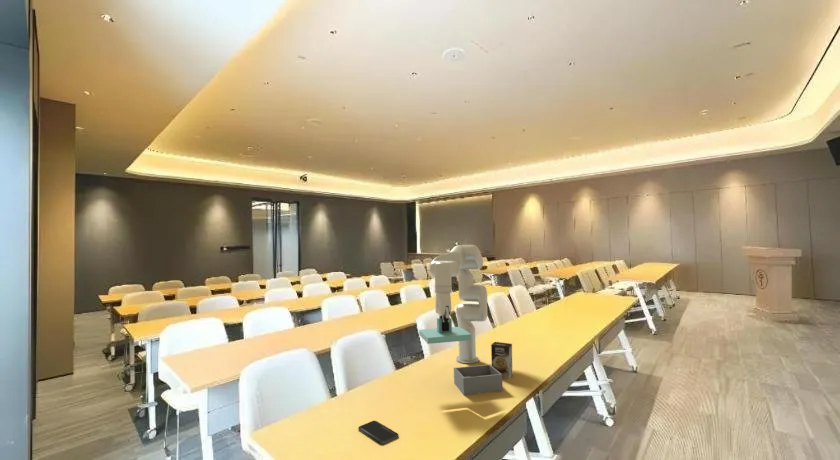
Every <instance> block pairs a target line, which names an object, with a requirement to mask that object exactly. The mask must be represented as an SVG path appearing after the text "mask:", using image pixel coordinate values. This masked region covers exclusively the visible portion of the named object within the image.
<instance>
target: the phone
mask: <svg viewBox="0 0 840 460" xmlns="http://www.w3.org/2000/svg"><path fill="white" fill-rule="evenodd" d="M358 431H359V432H360V433H362V434H364V435H365V436H366V437H368V438H369V439H371V440H372V441H374V442H376V443H377V444H379V445H382V446H383V445H387V444H389V443H390V442H392V441H394V440H396V439H398V438H399V433H397V432H396V431H394V430H393V429H391V428H389V427H387V425H384V424H383V423H380V422H379V421H377V420H372V421H369V422H367V423H364V424H362V425H360V426H358Z"/></svg>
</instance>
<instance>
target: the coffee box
mask: <svg viewBox="0 0 840 460" xmlns="http://www.w3.org/2000/svg"><path fill="white" fill-rule="evenodd" d="M490 346H491V347H490V348H491V353H490V354H491V357H490V358H491V366H492V367H494V368H495V369H496V370H497V371H499V372H500V373H501V374H502V379H503V378H504V379H510V378H512V377H513V343H509V342H508V343H507V342H501V341H500V342H499V341H494V342H492V343H491V345H490Z"/></svg>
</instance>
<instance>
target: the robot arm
mask: <svg viewBox="0 0 840 460" xmlns="http://www.w3.org/2000/svg"><path fill="white" fill-rule="evenodd" d="M483 265H484V258H483V256H482V253H481V251H480V249H479V247H478V246H477V245H476V244H458V245H455V246H453V248H452V249H451V250H450V251H449V252H445V253H444V254H441V255H438V256H435V258H433V260H431V262H430V264H429V273H430V275H432V277H434V293H435V313H436V314H437V315H438V316H439V317H438V318H442V321H443V322H442V331H449V318H451V315H452V301H451V299H452V297H451V293H453V291H452V289H453V287H452V286H453V285H452V278H453V277H457V276H458V297H459V300H461V301H462V302H477V303H460V304H458V305H457V306H456V309H455V311H456V313H455V314H456V319H457V327H461V328H462V329H464V330H465V331H467V332H469V333H470V334H471V338H472V340H467V341H458V356H456V358H455V359H456V361H457V362H458V363H461V364H475V363H478V362H479V360H480V358H479V357H478V356H477V351H476V349H477V348H476V328H475V326H474V324H473V323H472V322H477V323H479V322H480V323H481V322H482V323H483V322H486V321H487V319H488V291H487V290H488V289H487V288H486V286H485V285H483V284H475V283H474V277H475V276H474V275H473V273H472V271H471V270H480V269H482V268H483Z"/></svg>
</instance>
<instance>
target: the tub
mask: <svg viewBox="0 0 840 460" xmlns="http://www.w3.org/2000/svg"><path fill="white" fill-rule="evenodd" d="M464 376H471V377H465V378H464ZM453 383H454V385H455V387H456V388H457V389H458V390H459V391H460V393H461V394H462V396H470V395H472V396H473V395H479V394H488V393H497V392H503V390H504V389H503V378H502V374H501V373H500V372H499V371H497V370H496V369H495V368H494V367H492V364H489V363H488V364H480V365H470V366H460V367H459V366H458V367H453Z"/></svg>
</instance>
